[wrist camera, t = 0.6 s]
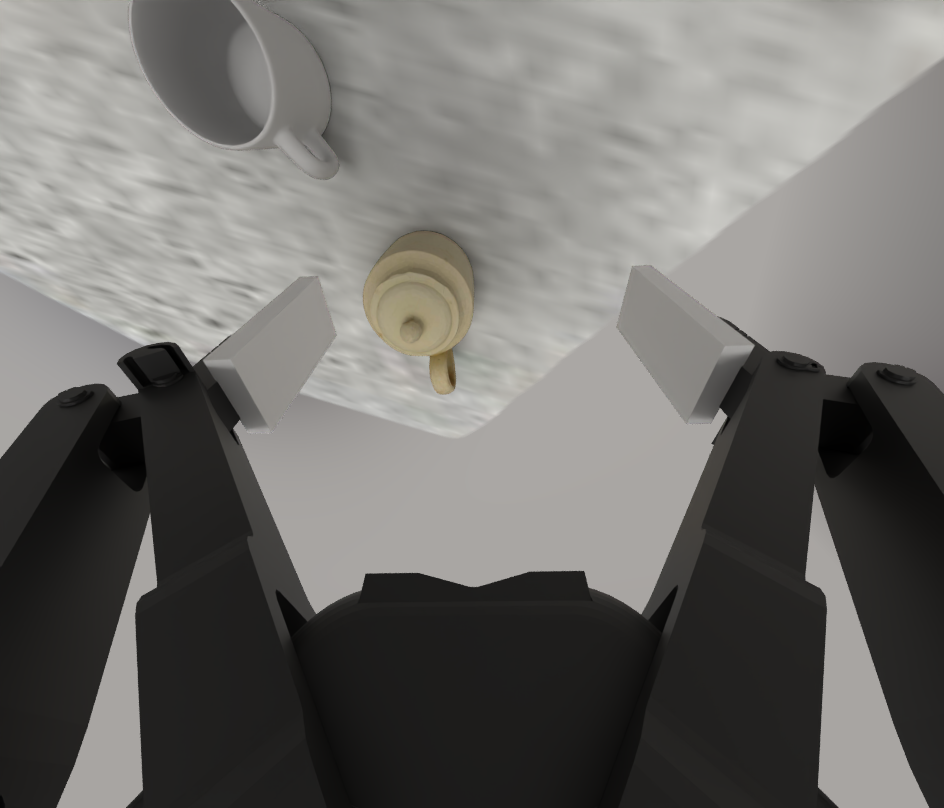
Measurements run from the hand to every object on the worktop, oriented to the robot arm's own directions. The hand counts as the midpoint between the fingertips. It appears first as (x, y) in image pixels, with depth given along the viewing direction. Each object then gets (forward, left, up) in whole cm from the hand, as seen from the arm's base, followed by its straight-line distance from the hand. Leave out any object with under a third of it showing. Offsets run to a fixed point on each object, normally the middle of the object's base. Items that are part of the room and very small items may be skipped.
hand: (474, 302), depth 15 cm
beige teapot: (+8, -6, -27) cm, 28 cm away
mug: (-10, -14, -27) cm, 32 cm away
